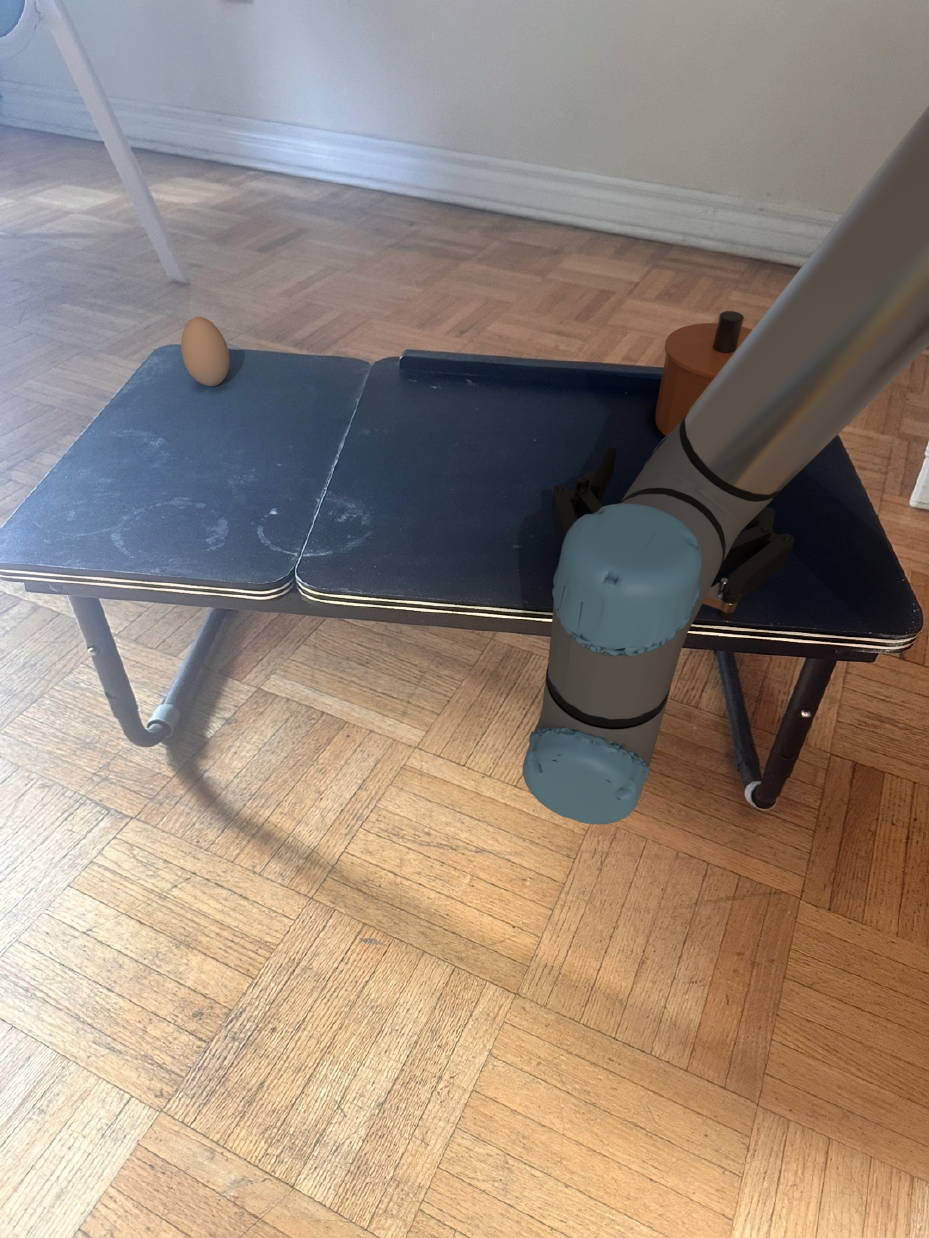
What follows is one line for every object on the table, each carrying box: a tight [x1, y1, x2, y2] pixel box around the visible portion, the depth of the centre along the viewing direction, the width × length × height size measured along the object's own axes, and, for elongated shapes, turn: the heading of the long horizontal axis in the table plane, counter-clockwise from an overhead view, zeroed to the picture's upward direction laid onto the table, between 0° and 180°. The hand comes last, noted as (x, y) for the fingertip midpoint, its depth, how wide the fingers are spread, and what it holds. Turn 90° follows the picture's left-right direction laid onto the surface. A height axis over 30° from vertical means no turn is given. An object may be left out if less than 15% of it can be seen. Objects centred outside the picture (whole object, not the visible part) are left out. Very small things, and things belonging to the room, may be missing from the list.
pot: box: [654, 353, 713, 437], centre depth 89 cm, size 11×11×8 cm
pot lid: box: [664, 310, 753, 379], centre depth 85 cm, size 12×12×5 cm
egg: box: [180, 316, 231, 387], centre depth 96 cm, size 5×5×8 cm
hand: (683, 474), depth 74 cm, fingers open, 13 cm apart
